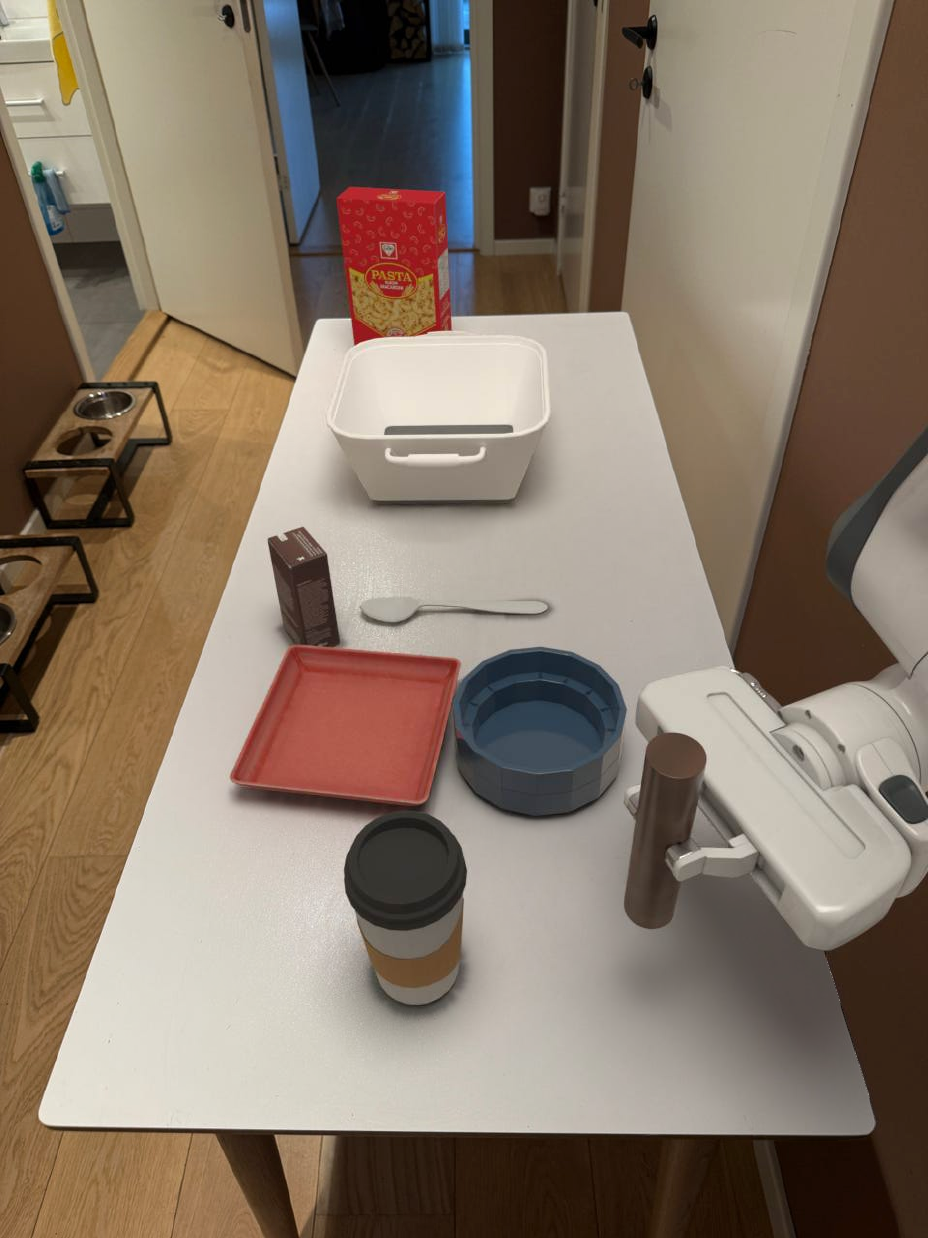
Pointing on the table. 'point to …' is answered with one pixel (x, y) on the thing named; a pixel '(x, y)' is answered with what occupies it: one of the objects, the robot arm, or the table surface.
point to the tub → (441, 415)
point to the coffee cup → (409, 902)
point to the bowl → (539, 730)
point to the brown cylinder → (662, 825)
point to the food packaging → (395, 261)
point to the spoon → (406, 606)
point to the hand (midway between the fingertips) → (650, 835)
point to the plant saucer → (350, 725)
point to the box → (304, 588)
